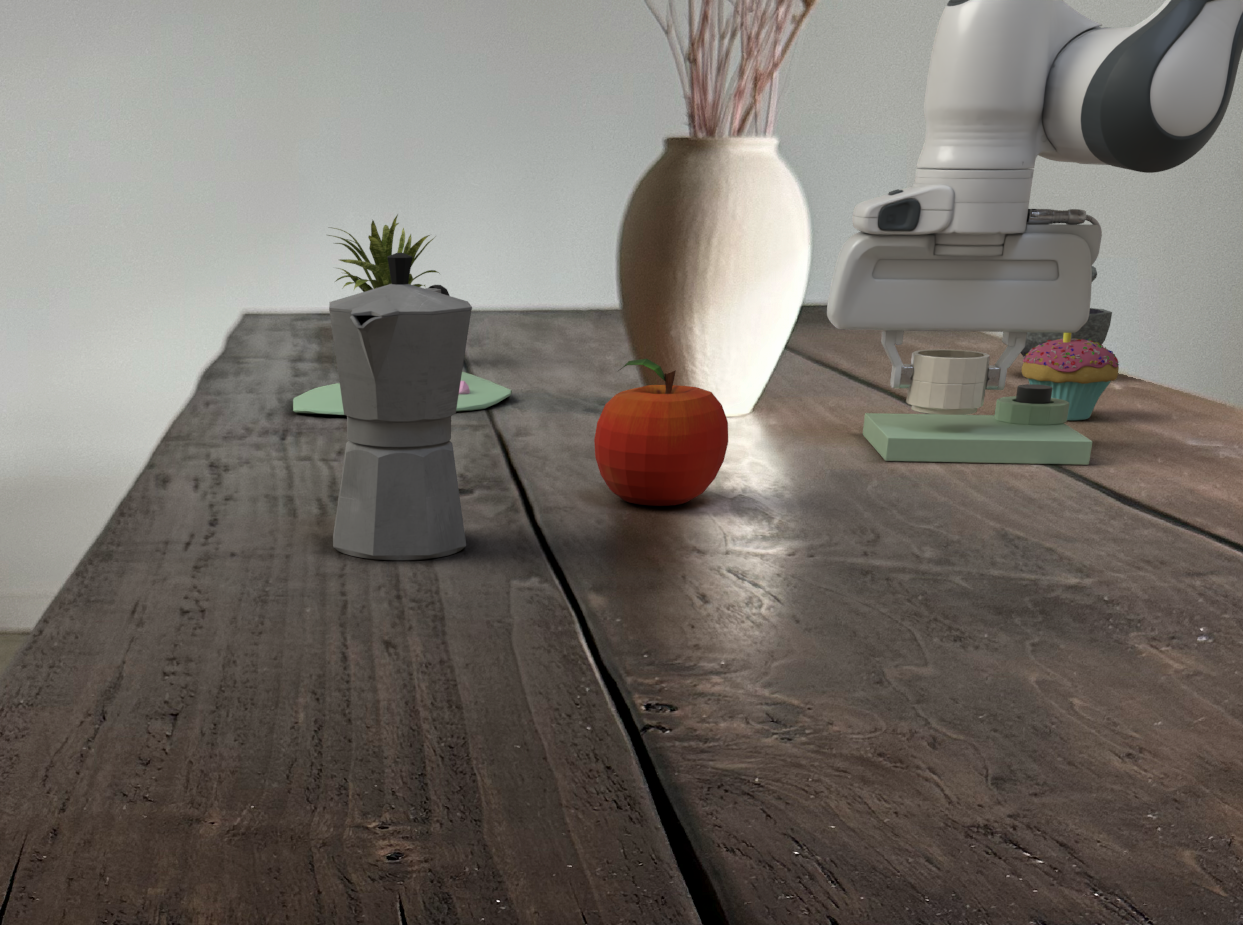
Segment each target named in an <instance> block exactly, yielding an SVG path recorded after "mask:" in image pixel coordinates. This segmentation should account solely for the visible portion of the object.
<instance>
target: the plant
mask: <svg viewBox="0 0 1243 925" xmlns="http://www.w3.org/2000/svg"><path fill="white" fill-rule="evenodd" d="M512 393H513V390H512V389H510V388H508V387H506V386H503V385H501V384H499V383H497V382H494V381H491V380H489V379H486V378H483V377H480V376H479V375H475V374H471V373H469V372H465V371H462V375H461V382H460V389H459V395H458V402H457V408H456V412H467V411H476V410H484V409H487V408H489V407H491V406H494V405H497V404H498V403H500V402H501V401H503V400H505V399H506V398H508V397H510V396H511V395H512ZM292 411H293V412H294V413H297V414H313V415H314V414H316V415H331V416H332V415H334V416H345V415H344V411H343V404H342V397H341V390H340V383H339V382H337V383H332V384H331V383H330V384H327V385H323V386H318V387H315V388H312V389H309V390H307V391H305V392H303V393H301V394H299V395H297V396H295V397H293V399H292Z"/></svg>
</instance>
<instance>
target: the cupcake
mask: <svg viewBox="0 0 1243 925" xmlns="http://www.w3.org/2000/svg"><path fill="white" fill-rule="evenodd" d="M1022 363H1023V364H1022V367H1021V375H1022V374H1023V375H1022V376H1023V377H1024V378H1025V379H1027V380H1028V384H1036V385H1046V386H1051V387H1052V395H1051V398H1056V399H1061V400H1065V401H1067V402H1069V403H1070V404H1069V410H1068V417H1067V421H1084V420H1089V419H1090V418H1091V416H1092V413H1093V411H1094V409H1095V407H1096V405H1097V403H1098V400H1099V399H1100V398H1101V395H1102V394H1103V393H1104V392H1105V390H1106V389H1107V388H1108V386H1109V385H1110V384H1111V382H1114V381H1116V380H1117V379H1118V375H1119V371H1120V370H1119V369H1120V368H1119V366H1120V364H1119V359H1118V357H1117V356H1116V354H1115V353H1114V352H1113V350H1110V349H1108V348H1107V347H1106V346H1104V345H1103V344H1102V345H1100V344H1099V343H1098V342H1093V341H1091V340H1090V339H1089V341H1088V339H1087V340H1084V339H1076V338H1072V339H1071V333H1064V335H1063V339H1057V340H1054V341H1051V340H1048V341H1047V342H1046V343H1043V344H1040V345H1038V346H1036V347H1034V348H1032V349H1031V350H1030V352H1029V353H1027V354H1026V356H1025V357H1023V358H1022Z"/></svg>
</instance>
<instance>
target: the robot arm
mask: <svg viewBox="0 0 1243 925" xmlns="http://www.w3.org/2000/svg"><path fill="white" fill-rule="evenodd" d="M1102 26H1103V24H1102V23H1100V22H1098V21H1095V20H1094V19H1091V18H1089V17H1087V16H1085V15H1084V14H1082V13H1080V12H1078V11H1077V10H1076V9H1074V8H1073V7H1072V6H1070V5H1069V4H1068V3H1067V2H1065V1H1064V0H948V2H947V3H946V4H945V6H944V9H943V10H942V13H941V15H940V18H939V21H938V24H937V27H936V31H935V35H934V39H933V43H932V48H931V52H930V53H931V54H930V58H929V63H928V64H929V65H928V70H927V78H926V82H925V92H924V93H925V94H924V100H923V116H924V124H925V135H924V140H923V145H922V149H921V151H920V154H919V155H918V159H917V161H916V167H915V168H916V169H915V175H914V182H913V183H912V185H911V186H907V187H905V188H901V189H900V188H899V189H894V190H891V191H888V193H885V194H882V195H881V194H880V195H878V196H875V197H871V198H868V199H865V200H863V201H859V202H858V203H857V204H856V205H854V208H853V211H852V226H853V228H854V229H855V230H857V231H858V232H856V233H854V234H852V235H851V236H849V237H848V238H847V239H846V240H845V241H844V242H843V244H842V245H841V248H840V250H839V252H838V255H837V258H836V261H835V265H834V269H833V273H832V277H831V282H830V287H829V291H828V299H827V307H826V317H827V319H828V320H829V322H830V323H831V325H832V326H833V327H834V328H836V329H837V330H839V331H840V330H841V331H881V340H880V343H881V345H882V347H883V350H884V352H885V354H886V356H887V359H888V361H889V363H890V364H891V372H890V382H889V384H890V388H892V389H908V388H911V385H912V380H911V377H912V376H913V369H914V367H913V366H911V363H904V362H903V361H902V359H901V356H900V354H899V352H898V349H897V347H896V346H902V344H903V341H904V335H905V332H908V331H909V332H973V333H974V332H980V333H983V332H984V333H986V332H987V333H1002V338H1001V339H1002V340H1001V343H1002V344H1004V345H1005V346H1006V348H1005V349H1004V350H1003V352H1002V354H1000V356H999V358H997V360H996V362H995V363H994V364H989V368H988V375H987V382H986V390H988V391H1004V389H1005V386H1006V382H1007V381H1006V379H1007V373H1008V369H1010V367H1011V366H1012V365H1013V363H1014V362H1015V361H1016V359H1017V358H1018V356H1019V355H1020V354H1021V351H1022V350H1023V349H1024V347H1025V342H1026V336H1027V332H1054V333H1075V332H1077V331H1078V330H1079V329H1080V328H1081V327H1082V326H1083V325H1084V324H1085V323H1086V322H1087V320H1088V317H1089V311H1090V308H1091V302H1092V284H1091V282H1092V270H1091V266H1093V265H1094V264H1095V262H1096V261H1097V260H1098V257H1099V254H1100V249H1101V243H1102V237H1103V234H1102V233H1103V231H1102V227H1101V224H1100V222H1099V221H1098V220H1097V218H1095V217H1094V216H1093V215H1089V214H1087V211H1086V210H1083V209H1079V208H1069V209H1067V210H1066V209H1065V210H1061V209H1059V210H1058V209H1052V208H1030V200H1031V193H1032V185H1033V180H1034V179H1033V178H1034V173H1035V166H1036V160H1037V157H1038V156H1039V157H1040V158H1041V157H1042V158H1044V159H1046V160H1050V161H1053V162H1058V163H1059V162H1061V163H1075V164H1080V165H1096V166H1097V165H1098V166H1111V167H1115V168H1119V169H1124V170H1130V171H1134V172H1138V173H1144V174H1147V173H1148V174H1153V173H1160V172H1165V171H1168V170H1171V169H1174V168H1176V167H1178V166H1180V165H1182V164H1184V163H1185V162H1187V161H1189V160H1190V159H1191V158H1193V157H1194V156H1195V155H1196V154H1198V152H1200V151H1201V150H1202V149H1203V148H1204V147H1205V146H1206V145H1207V143H1208V142H1209V141H1210V140H1211V138H1212V137H1213V136H1214V135H1215V133H1216V131H1217V130H1218V128H1219V126H1220V125H1221V123H1222V121H1223V119H1224V117H1225V115H1226V112H1227V110H1228V107H1229V105H1230V102H1231V99H1232V95H1233V90H1234V87H1235V83H1236V78H1237V73H1238V69H1239V65H1240V60H1241V57H1242V53H1243V0H1164V1H1163V3H1162V4H1161V5H1160V6H1159V7H1158V8H1157V9H1156V10H1155V11H1154V12H1153V13H1151V14H1150V15H1148V17H1146V18H1145V19H1143V20H1141V21H1140V22H1138V23H1137V24H1135V25H1130V26H1129V25H1128V26H1119V27H1118V26H1117V27H1107V26H1103V27H1102ZM1086 221H1087V222H1089V223H1091V224H1087V223H1086V224H1085V222H1086ZM1092 283H1093V282H1092ZM986 390H985V391H986Z"/></svg>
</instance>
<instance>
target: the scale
mask: <svg viewBox="0 0 1243 925" xmlns="http://www.w3.org/2000/svg"><path fill="white" fill-rule="evenodd" d="M1015 401H1016V395H1012V396H1002V397H1000V398H997V399H996V401H995V410H994V414H965V415H939V414H928V413H888V412H887V413H885V412H884V413H883V412H882V413H881V412H879V413H878V412H865V413H864V417H863V418H864V419H863V428H862V435H863V437H864V438H865V439H866V440H867V441H868V443H869V444H870V445H871V446H872V447H873V448H874V449H875V451H876V452H877V453H878V454H879V455H880V456H881V457H882V458H883V460H884V461H885V462H912V463H913V462H914V463H915V462H916V463H918V462H919V463H920V462H921V463H963V464H964V463H967V464H970V463H972V464H974V463H975V464H977V463H978V464H1014V465H1015V464H1018V465H1020V464H1021V465H1022V464H1024V465H1073V466H1074V465H1075V466H1078V465H1079V466H1088V465H1090V461H1091V454H1092V448H1093V440H1091V439H1090V438H1088V437H1087V436H1085V435H1083V434H1082V433H1080V432H1079V431H1077V430H1075V429H1074V428H1072V427H1071V426H1069V425H1068V424H1066V423H1067V421H1068V420H1067V417H1068V410H1069V404H1070V403H1069V402H1067V401H1065V400H1061V399H1056V398H1051V401H1050V403H1049V404H1030V403H1020V402H1015Z"/></svg>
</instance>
